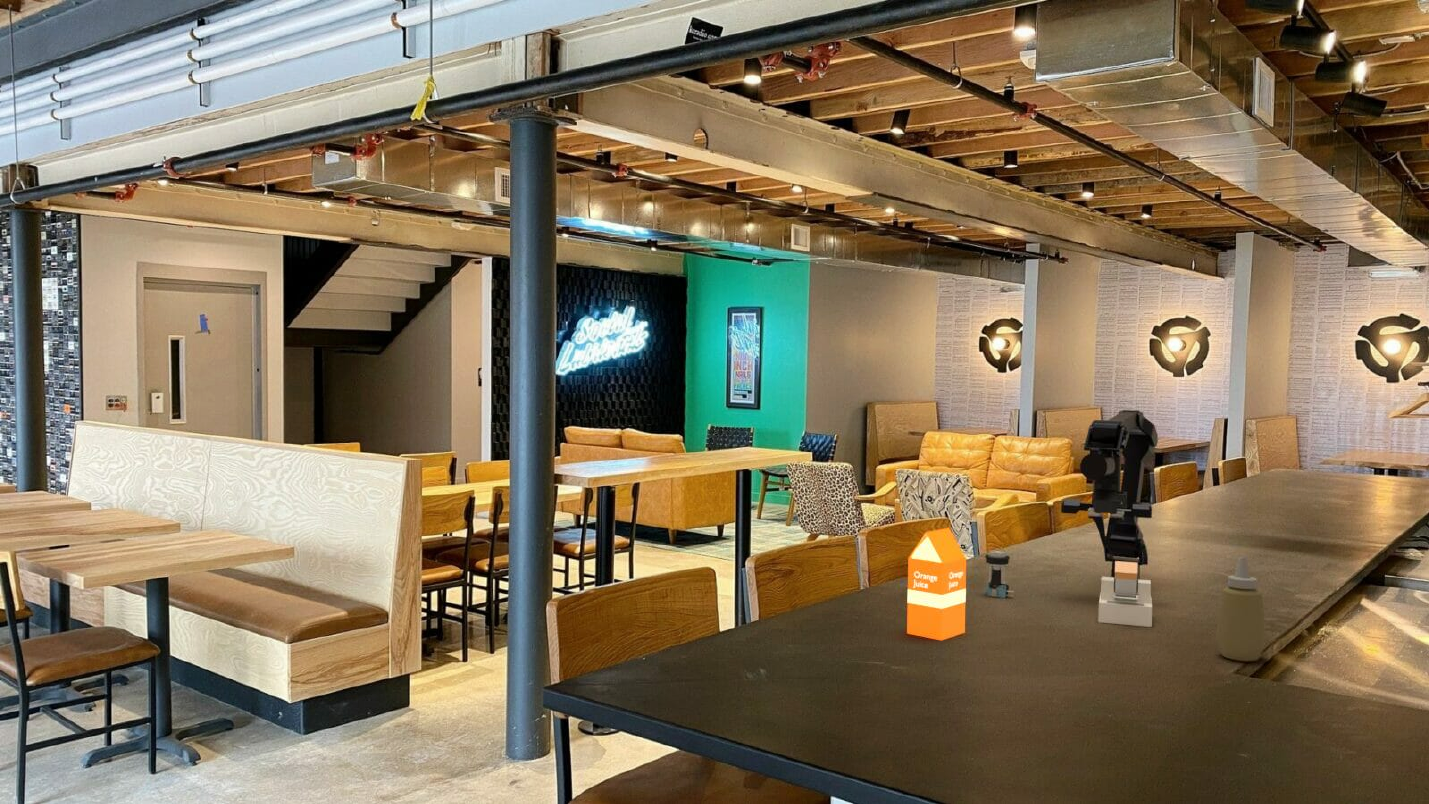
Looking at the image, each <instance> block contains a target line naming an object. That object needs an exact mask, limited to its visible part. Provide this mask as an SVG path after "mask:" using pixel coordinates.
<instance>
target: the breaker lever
mask: <svg viewBox="0 0 1429 804" xmlns="http://www.w3.org/2000/svg"><path fill="white" fill-rule="evenodd" d="M1137 565H1138V563H1135V562H1121V561H1115V589H1114V594H1115V596H1117V597H1129V598H1136V595H1137V590H1136V584H1137Z"/></svg>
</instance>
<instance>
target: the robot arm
mask: <svg viewBox="0 0 1429 804" xmlns="http://www.w3.org/2000/svg"><path fill="white" fill-rule="evenodd" d="M1086 434H1087V435H1086V438H1085V443H1084V447H1083V450H1084V451H1086V452H1088V451H1089V453H1088V454H1086V455H1085V456H1084V457H1083V458H1082V459H1081V461H1080V464H1079V465H1080V466H1079V467H1080V472H1081V474H1082V475H1083V476H1084V477H1085V478H1086V479H1088V480H1092V494H1091V502H1082V499H1081V498H1064V499H1063V500H1062V501H1061V507H1060V512H1061V514H1072V515H1073V514H1074V515H1076V514H1077V513H1078V512H1080V511H1081V512H1087V513H1088V517H1087V518H1088V519H1092V520H1093V522H1094V525H1095V526H1096V528H1097V530H1098V533H1099V537H1100V540H1101V544H1102V547H1103V551H1104V552H1103V553H1104V562H1109V563H1110V562H1111V569H1110V571H1111V573H1110V577H1113V578H1114V590H1115V561H1121V562H1135V563H1138V565H1137V584H1136V591H1138V579H1139V580H1141V578H1140V577H1141V566H1147V565H1148V564H1149V555H1148V554H1149V553H1148V550H1147V546H1146V543H1145V540H1144V533H1143V532H1142V530H1141V528H1140V525H1139V523H1138V521H1139V519H1140V518H1142V519H1152V518H1153V506H1152V504H1151V503H1150V502H1141V497H1142V489H1143V482H1144V473H1145V466H1146V464H1147V463H1148V462H1149V461H1150V460H1151V459H1152V457H1153V456H1154V454H1155V453H1154V452H1155V448H1156V447H1157V446H1158V442H1159V441H1158V440H1159V436H1158V432H1157V429H1156V426H1155V424H1154V423H1152V421H1150V420H1149V419H1147V418H1146V417H1145V416H1144V413H1143V411H1140V410H1134V409H1133V410H1131V409H1130V410H1129V409H1121V410H1120V411H1119V412H1118V413H1117V414H1116V415H1114V416H1112V417H1111V418H1109V419H1094V420H1093V421H1092V422H1091V424H1089V426H1088V430H1087V433H1086ZM1122 457H1123V459H1124V464H1123V470H1122ZM1121 473H1122V474H1121ZM1121 475H1122V476H1121ZM1104 513H1105V514H1109V518H1108V524H1107V530H1106V532H1105V524H1104Z"/></svg>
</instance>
